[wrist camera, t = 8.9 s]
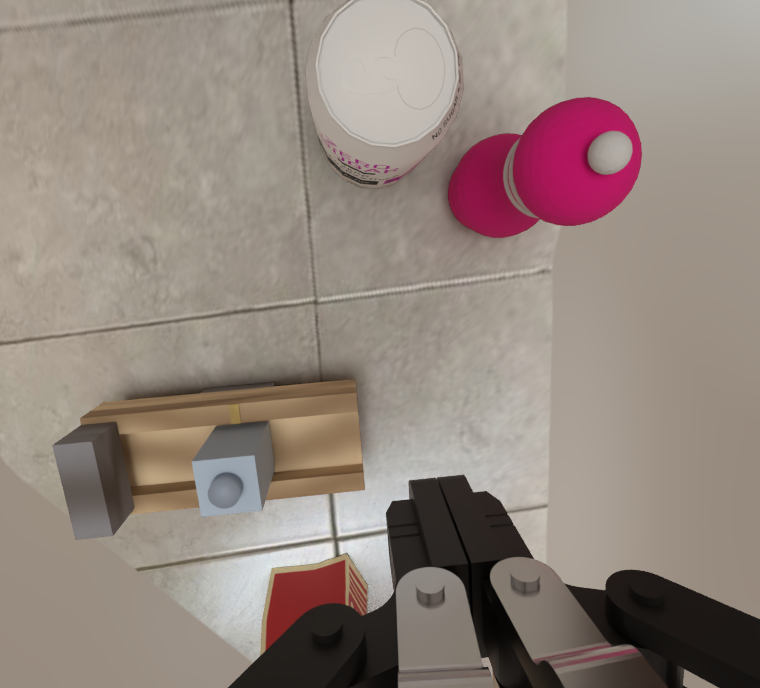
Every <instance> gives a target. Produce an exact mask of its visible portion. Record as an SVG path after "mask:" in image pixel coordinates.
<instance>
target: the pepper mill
mask: <svg viewBox="0 0 760 688" xmlns="http://www.w3.org/2000/svg"><path fill="white" fill-rule="evenodd" d="M641 157H642V151H641V142H640V138H639V135H638V132H637V130H636V128H635V125H634V123H633V122H632V121H631V119H630V118H629V116H628V115H627V114H626V113H625V112H624V111H623V110H622V109H621V108H619V107H618V106H616V105H614V104H612V103H610V102H608V101H605V100H601V99H597V98H590V97H585V98H575V99H571V100H567V101H563V102H560V103H558V104H556V105H554V106H552V107H550V108H548V109H547V110H545V111H544V112H542V113H541V114H540V115H539V116H538V117H537V118H536V119H534V120H533V121H532V122H531V123H530V124H529V126H528V127H527V129H526V130H525V132H524V133H523V135H518V134H508V133H507V134H499V135H495V136H492V137H489V138H487V139H484V140H482V141H480V142H479V143H477V144H476V145H474V146H473V147H472V148H471V149H470V150H469V151H468V152H467V153H466V154H465V155H464V156H463V158H462V159H461V161H460V163H459V165H458V167H457V168H456V170H455V171H454V173H453V175H452V177H451V180H450V183H449V189H448V199H449V204H450V207H451V210H452V212H453V214H454V215H455V217H456V218H457V219H458V220H459V221H460V222H461V223H462V224H463V225H465V226H466V227H468V228H470V229H472V230H474V231H476V232H477V233H480V234H482V235H484V236H489V237H493V238H503V237H509V236H513V235H516V234H519V233H521V232H523V231H525V230H528V229H529V228H530V227H532V226H533V225H534V224H536V223H537V222H538V221H539V220H540V219H542V220H543V221H545V222H549V223H552V224H556V225H563V226H575V225H581V224H585V223H589V222H592V221H595V220H597V219H599V218H601V217H603V216H605V215H606V214H608V213H609V212H611V211H612V210H613V209H615V208H616V207H617V206H618V205H619V204H620V203H621V202H622V201H623V200H624V199H625V197H626V196H627V195H628V193H629V192H630V191H631V190H632V188H633V185H634V183H635V181H636V180H637V178H638V174H639V170H640V165H641Z"/></svg>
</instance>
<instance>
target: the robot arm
mask: <svg viewBox="0 0 760 688" xmlns="http://www.w3.org/2000/svg"><path fill="white" fill-rule="evenodd" d="M386 520H387V532H388V545H389V557H390V567H391V574H392V582H393V589H394V593H393V595H392V596H391V598H390V599H389V600H388V601H387V602H386V603H385V604H384V605H383V606H381V607H380V608H378V609H377V610H375V611H372V612H370V613H368V614H365V615H363V616H361V615H360V614H359V612H358V611H356V610H355V609H354V608H352V607H350V606H348V605H345V604H340V603H328V604H323V605H319V606H316V607H314V608H312V609H310V610H308V611H307V612H305V613H304V614H303V615H302V616H300V617H299V618H298V619H297V620H296V621H295V622H294V623H293V624H292V625H291V626H290V627H289V628H288V629H287V630H286V631H285V632H284V633H283V634H282V635H281V636H280V637H279V638H278V639H277V640H276V641H275V642H274V643H273V644H272V645H271V646H270V647H269V648H268V649H267V650H266V651H265V652H264V653H263V654H262V655H261V656H260V657H259V658H258V659H257V660H256V661H255V662H254V663H253V664H252V665H251V666H250V667H249V668H248V669H247V670H246V671H244V672H243V673H242V674H241V676H240V677H238V678H237V679H236V680H235V681H234V682H233V683H232V684H231V685H230V686H229V687H228V688H686V687H685V686H683V677H684V669H686V670H687V671H689V672H691V673H693V674H695V675H697V676H699V677H700V678H702V679H704V680H706V681H708V682H710V683H712V684H713V685H715V686H717V687H719V688H760V619H758V618H755V617H753V616H751V615H748V614H746V613H744V612H742V611H739V610H737V609H735V608H732V607H729V606H728V605H725V604H723V603H721V602H718V601H716V600H714V599H711V598H709V597H707V596H704V595H702V594H700V593H697V592H695V591H693V590H691V589H688V588H686V587H684V586H681V585H679V584H677V583H674V582H672V581H670V580H667V579H664V578H663V577H660V576H658V575H655V574H653V573H649V572H645V571H640V570H623V571H619V572H616V573H614V574H612V575H611V576H610V577H609V578H608V579H607V581H606V589H605V590H597V589H590V588H582V587H575V586H571V585H567V584H565V583H563V581H562V580H561V579H560V577H559V576H558V575H557V573H556V572H555V571H554V570H553V569H552V568H550V567H549V566H548V565H546V564H544V563H542V562H540V561H538V560H535V559H534V558H533V556H532V555H531V553H530V551H529V549H528V548H527V546H526V544H525V543H524V541H523V539H522V538H521V536H520V534H519V532H518V531H517V529H516V527H515V526H513V522H512V520H511V519H510V517H509V515H507V512H506V510H505V509H504V507H503V505H502V503H501V502H500V501H499V500H498V499H497V498H495V497H494V496H492V495H491V494H489V493H488V492H487V491H484V492H474V493H473V491H472V489H471V487H470V485H469V483H468V481H467V479H466V477H465V476H464V475H456V476H447V477H437V480H436V478H428V479H419V480H409V500H400V501H392V503H391V505H390V507H389V508H388V510H387V512H386ZM485 657H489V660H490V663H491V665H492V669H493V679H492V676H491V672H490V670H489V668H488V667H483V664H482V660H481V658H485Z"/></svg>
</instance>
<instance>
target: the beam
mask: <svg viewBox="0 0 760 688" xmlns="http://www.w3.org/2000/svg"><path fill="white" fill-rule="evenodd" d="M80 421H81V426H79V427H78V428H76V429H75V430H74V431H72V432H71V433H69V434H68V435H67V436H65V437H64V438H62V439H61V440H59V441H58V442H57V443H55V444H54V445H53V449H54V453H55V458H56V462H57V466H58V470H59V474H60V478H61V482H62V486H63V490H64V494H65V498H66V502H67V507H68V511H69V515H70V519H71V523H72V527H73V531H74V535H75V539H76V540H79V539H89V538H98V537H107V536H113V535H114V534H115V533H116V531H117V530H118V529H119V528H120V526H121V525H122V524H123V522H124V521H125V520H126V519H127V517H128V516H129V515H130V514H139V513H148V512H158V511H168V510H177V509H187V508H196V507H200V506H199V501H198V495H197V489H196V484H195V478H194V472H193V467H192V460H193V459H194V457H195V456H196V454H197V453H198V451H199V450H200V449H201V447H202V446H203V444H204V443H205V441H206V440H207V438H208V437H209V435H210V434H211V433H212V431H213V430H214V428H215V427H216V426H219V425H229V424H240V423H250V422H261V421H269V426H270V434H271V441H272V449H273V456H274V464H275V470H274V474H273V477H272V480H271V483H270V487H269V490H268V493H267V497H266V500H273V499H283V498H292V497H302V496H311V495H321V494H330V493H340V492H350V491H359V490H365V485H364V472H363V460H362V449H361V438H360V427H359V416H358V405H357V393H356V382H355V379H350V380H340V381H329V382H318V383H307V384H296V385H285V386H275V382H269V383H258V384H248V385H237V386H226V387H215V388H205V389H204V390H203V391H202V392H201V393H198V394H188V395H177V396H166V397H155V398H144V399H133V400H122V401H112V402H103V403H102V404H100V405H99V406H97V407H96V408H95V409H93V410H92V411H90V412H89V413H87V414H86V415H84V416H83V417H81V418H80Z"/></svg>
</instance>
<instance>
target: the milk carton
mask: <svg viewBox="0 0 760 688" xmlns="http://www.w3.org/2000/svg"><path fill="white" fill-rule="evenodd" d="M367 589H368V585H367V584H366V582H365V581H364V579H363V578H362V576H361V575H360V573H359V571H358V570H357V568H356V567H355V565H354V564H353V562H352V561H351V559H350V558H349V556H348V555H347V554H345V555H342V556H339V557H336V558H333V559H330V560H327V561H324V562H321V563H318V564H310V565H300V566H290V567H280V568H272V570H271V576H270V581H269V586H268V592H267V597H266V603H265V608H264V613H263V619H262V633H261V655H262V654H263V653H264V652H265V651H266V650H267V649H268V648H269V647H270V646H271V645H272V644H273V643H274V642H275V641H276V640H277V639H278V638H279V637H280V636H281V635H282V634H283V633H284V632H285V631H286V630H287V629H288V628H289V627H290V626H291V625H292V624H293V623H294V622H295V621H296V620H297V619H298V618H299V617H300V616H302V615H303V614H304V613H305V612H307V611H308V610H310V609H312V608H314V607H316V606H319V605H323V604H328V603H340V604H345V605H348V606H350V607H352V608H354V609H355V610H356V611H358V612H359V614H360V615H361V616H363V615H365V614H367ZM261 655H260V656H261Z"/></svg>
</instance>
